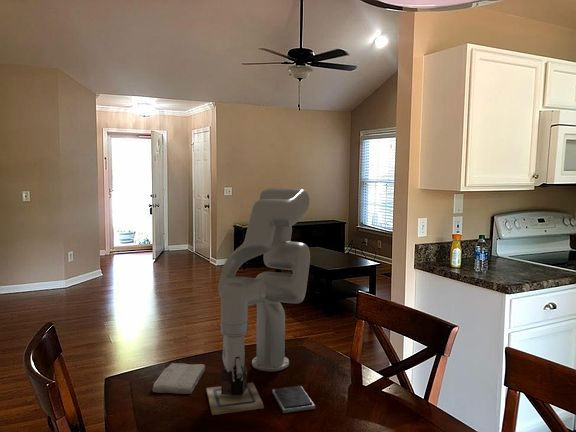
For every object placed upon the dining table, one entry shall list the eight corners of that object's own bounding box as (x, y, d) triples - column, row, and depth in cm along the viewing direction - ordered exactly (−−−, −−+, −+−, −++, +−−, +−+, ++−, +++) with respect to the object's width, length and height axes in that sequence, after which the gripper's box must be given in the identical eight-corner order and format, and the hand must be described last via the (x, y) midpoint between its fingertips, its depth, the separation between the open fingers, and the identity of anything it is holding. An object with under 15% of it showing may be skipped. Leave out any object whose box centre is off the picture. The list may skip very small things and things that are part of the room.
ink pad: (272, 392, 132) (272, 388, 132) (301, 389, 135) (301, 384, 135) (283, 413, 121) (283, 408, 121) (314, 408, 123) (315, 403, 123)
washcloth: (206, 370, 148) (206, 361, 148) (192, 396, 130) (192, 386, 130) (170, 369, 149) (170, 360, 149) (151, 395, 131) (151, 384, 131)
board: (206, 391, 133) (206, 387, 133) (253, 385, 137) (253, 381, 137) (212, 415, 119) (212, 410, 119) (263, 408, 123) (263, 404, 123)
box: (241, 396, 124) (241, 371, 124) (220, 394, 126) (220, 369, 125) (247, 386, 130) (247, 362, 130) (227, 384, 132) (227, 360, 131)
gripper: (216, 318, 134) (217, 375, 135) (225, 339, 117) (225, 403, 119) (241, 317, 136) (241, 373, 137) (253, 336, 119) (253, 400, 121)
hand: (234, 387), depth 128 cm, fingers closed on box, 8 cm apart
